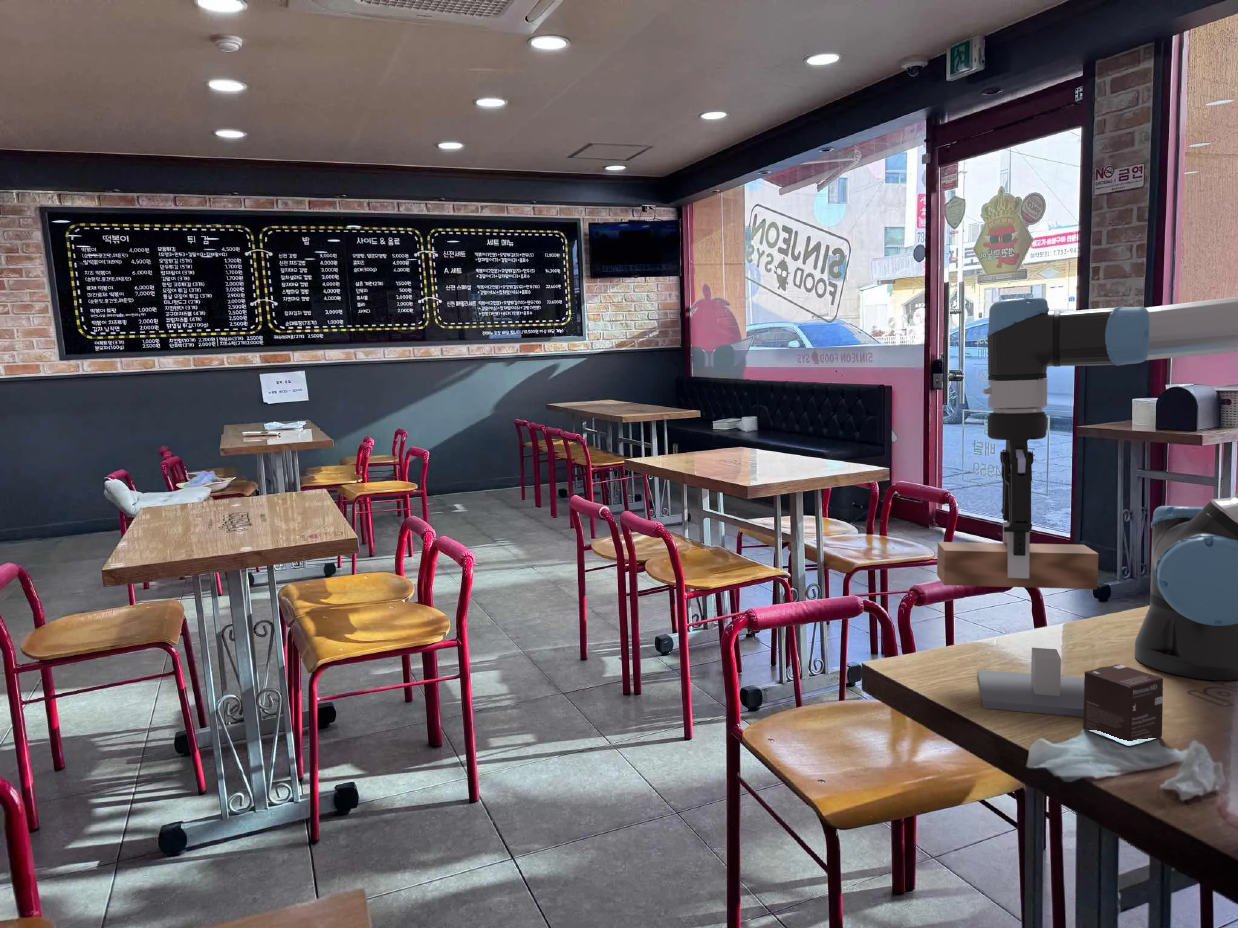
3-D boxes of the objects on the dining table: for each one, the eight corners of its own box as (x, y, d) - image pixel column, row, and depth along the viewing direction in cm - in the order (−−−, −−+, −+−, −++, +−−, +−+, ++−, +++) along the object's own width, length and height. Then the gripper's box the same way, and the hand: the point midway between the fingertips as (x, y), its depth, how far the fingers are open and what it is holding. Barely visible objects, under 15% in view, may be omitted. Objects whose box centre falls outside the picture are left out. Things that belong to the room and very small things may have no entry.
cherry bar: (1082, 578, 124) (1083, 544, 124) (1096, 589, 119) (1098, 553, 118) (936, 574, 128) (937, 541, 128) (944, 584, 122) (944, 550, 122)
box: (1127, 748, 99) (1129, 686, 98) (1081, 729, 104) (1082, 670, 103) (1163, 738, 101) (1165, 677, 100) (1115, 720, 107) (1117, 662, 106)
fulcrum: (1104, 686, 117) (1105, 643, 117) (1123, 720, 106) (1124, 673, 106) (977, 676, 123) (977, 635, 122) (983, 707, 111) (983, 662, 111)
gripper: (983, 408, 131) (982, 556, 134) (993, 415, 113) (992, 586, 115) (1037, 406, 129) (1035, 558, 131) (1056, 413, 110) (1054, 589, 113)
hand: (1015, 571), depth 123 cm, fingers closed on cherry bar, 6 cm apart
